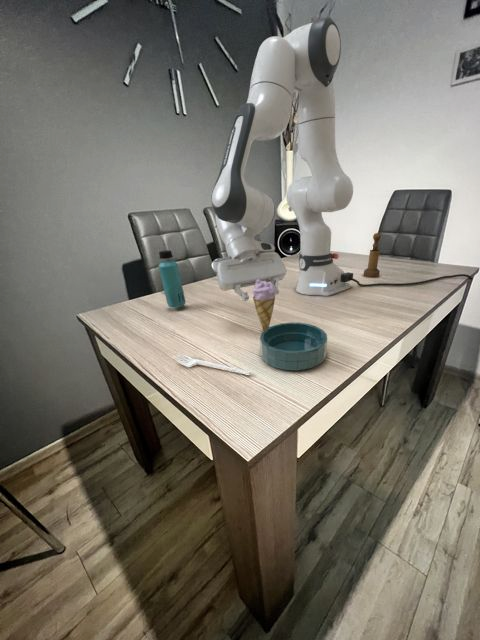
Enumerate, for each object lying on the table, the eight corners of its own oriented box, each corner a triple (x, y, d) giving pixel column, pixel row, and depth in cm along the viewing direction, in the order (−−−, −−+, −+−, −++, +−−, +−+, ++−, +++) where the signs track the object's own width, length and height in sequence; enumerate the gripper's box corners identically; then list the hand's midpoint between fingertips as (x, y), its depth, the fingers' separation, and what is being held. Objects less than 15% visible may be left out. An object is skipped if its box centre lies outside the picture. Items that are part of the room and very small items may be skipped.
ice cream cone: (251, 327, 81) (247, 277, 74) (270, 323, 83) (268, 274, 76) (260, 336, 76) (257, 283, 68) (280, 331, 78) (279, 279, 70)
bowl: (301, 334, 76) (301, 317, 73) (339, 359, 64) (341, 340, 61) (250, 349, 70) (249, 332, 67) (282, 380, 58) (282, 360, 55)
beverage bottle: (182, 311, 96) (169, 252, 86) (164, 311, 97) (150, 252, 87) (189, 305, 101) (179, 248, 91) (173, 305, 103) (161, 249, 93)
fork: (246, 380, 58) (246, 372, 57) (172, 363, 66) (171, 357, 65) (253, 372, 61) (252, 364, 60) (181, 357, 68) (179, 350, 67)
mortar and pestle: (364, 277, 121) (370, 234, 112) (362, 274, 127) (367, 232, 118) (380, 277, 120) (387, 233, 111) (377, 274, 126) (384, 231, 117)
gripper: (211, 252, 71) (228, 298, 69) (278, 243, 79) (296, 284, 76) (208, 266, 77) (224, 309, 74) (271, 257, 85) (288, 295, 82)
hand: (261, 296), depth 75 cm, fingers open, 8 cm apart
